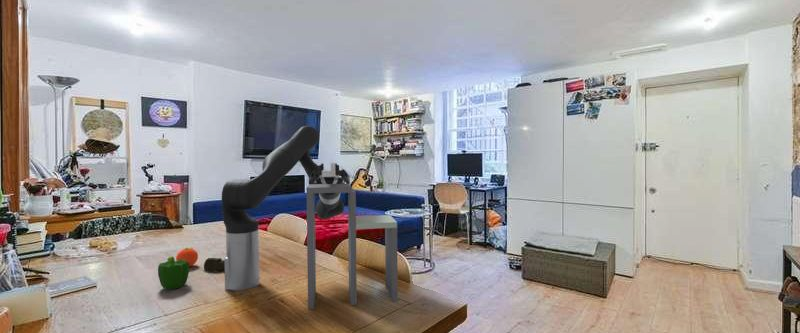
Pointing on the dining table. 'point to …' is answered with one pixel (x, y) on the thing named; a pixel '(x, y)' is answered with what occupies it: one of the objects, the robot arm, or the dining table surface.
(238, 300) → the dining table surface
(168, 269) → the bell pepper
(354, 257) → the step stand
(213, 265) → the hand tool
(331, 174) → the bracket
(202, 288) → the dining table surface
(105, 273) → the dining table surface
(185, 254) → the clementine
